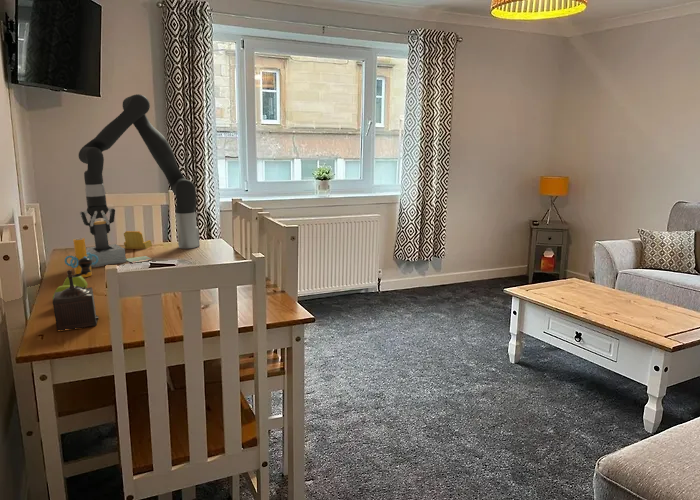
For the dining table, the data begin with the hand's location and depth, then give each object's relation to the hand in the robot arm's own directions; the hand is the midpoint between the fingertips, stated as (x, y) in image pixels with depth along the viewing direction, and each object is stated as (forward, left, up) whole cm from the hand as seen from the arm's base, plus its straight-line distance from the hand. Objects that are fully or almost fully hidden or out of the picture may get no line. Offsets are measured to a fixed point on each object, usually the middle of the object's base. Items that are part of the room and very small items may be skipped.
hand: (100, 233), depth 227 cm
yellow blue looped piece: (+13, +19, -13) cm, 26 cm away
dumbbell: (+24, +50, -13) cm, 57 cm away
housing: (0, 0, -13) cm, 13 cm away
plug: (0, 0, -7) cm, 7 cm away
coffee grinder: (+27, +73, -13) cm, 79 cm away
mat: (-13, +7, -13) cm, 19 cm away
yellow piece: (-21, -20, -13) cm, 32 cm away
